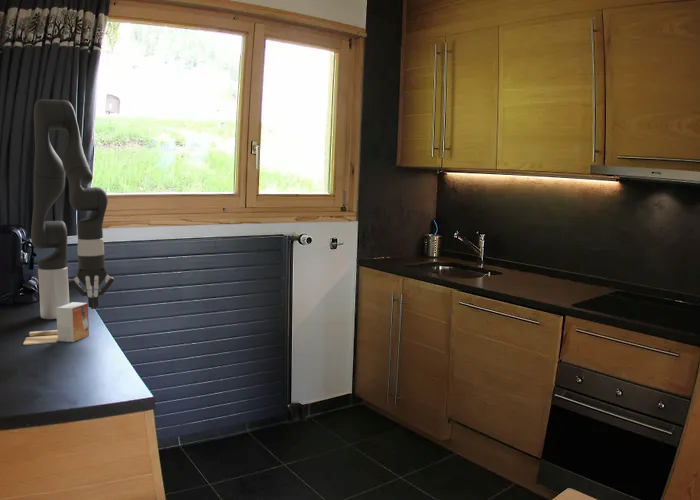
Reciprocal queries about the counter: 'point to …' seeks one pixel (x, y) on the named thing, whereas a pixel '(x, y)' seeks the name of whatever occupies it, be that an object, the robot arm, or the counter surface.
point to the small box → (72, 321)
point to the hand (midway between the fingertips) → (93, 308)
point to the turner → (43, 333)
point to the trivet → (40, 340)
